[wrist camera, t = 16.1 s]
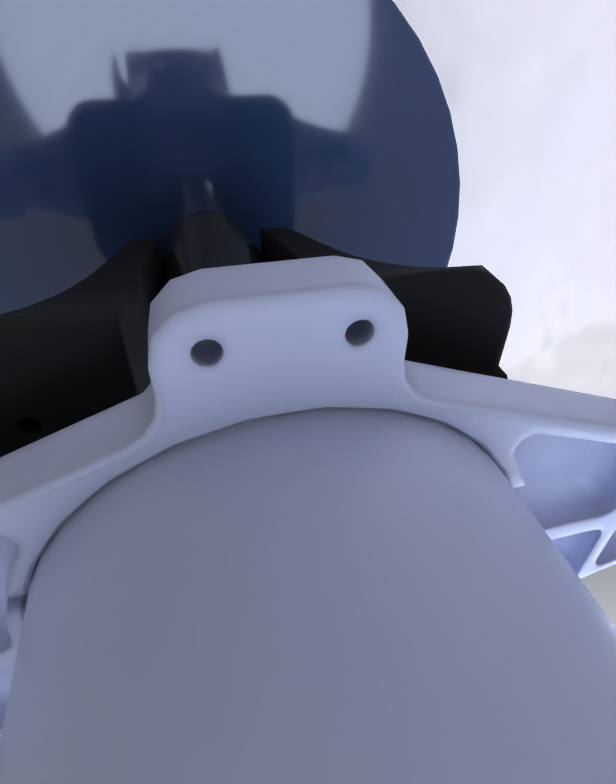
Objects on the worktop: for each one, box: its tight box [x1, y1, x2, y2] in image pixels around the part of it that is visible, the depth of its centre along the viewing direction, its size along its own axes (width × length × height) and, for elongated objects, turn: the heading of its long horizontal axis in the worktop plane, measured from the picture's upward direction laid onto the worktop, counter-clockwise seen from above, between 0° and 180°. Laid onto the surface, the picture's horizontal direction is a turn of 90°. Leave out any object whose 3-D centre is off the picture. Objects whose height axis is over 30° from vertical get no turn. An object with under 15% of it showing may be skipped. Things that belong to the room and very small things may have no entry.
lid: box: [0, 0, 460, 314], centre depth 12 cm, size 14×14×5 cm
